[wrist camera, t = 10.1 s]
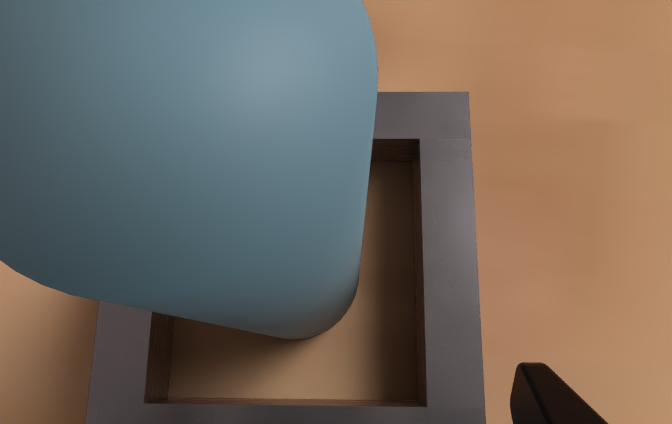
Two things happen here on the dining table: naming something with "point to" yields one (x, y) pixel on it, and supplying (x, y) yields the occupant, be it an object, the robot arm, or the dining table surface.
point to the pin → (190, 155)
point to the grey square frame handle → (431, 301)
